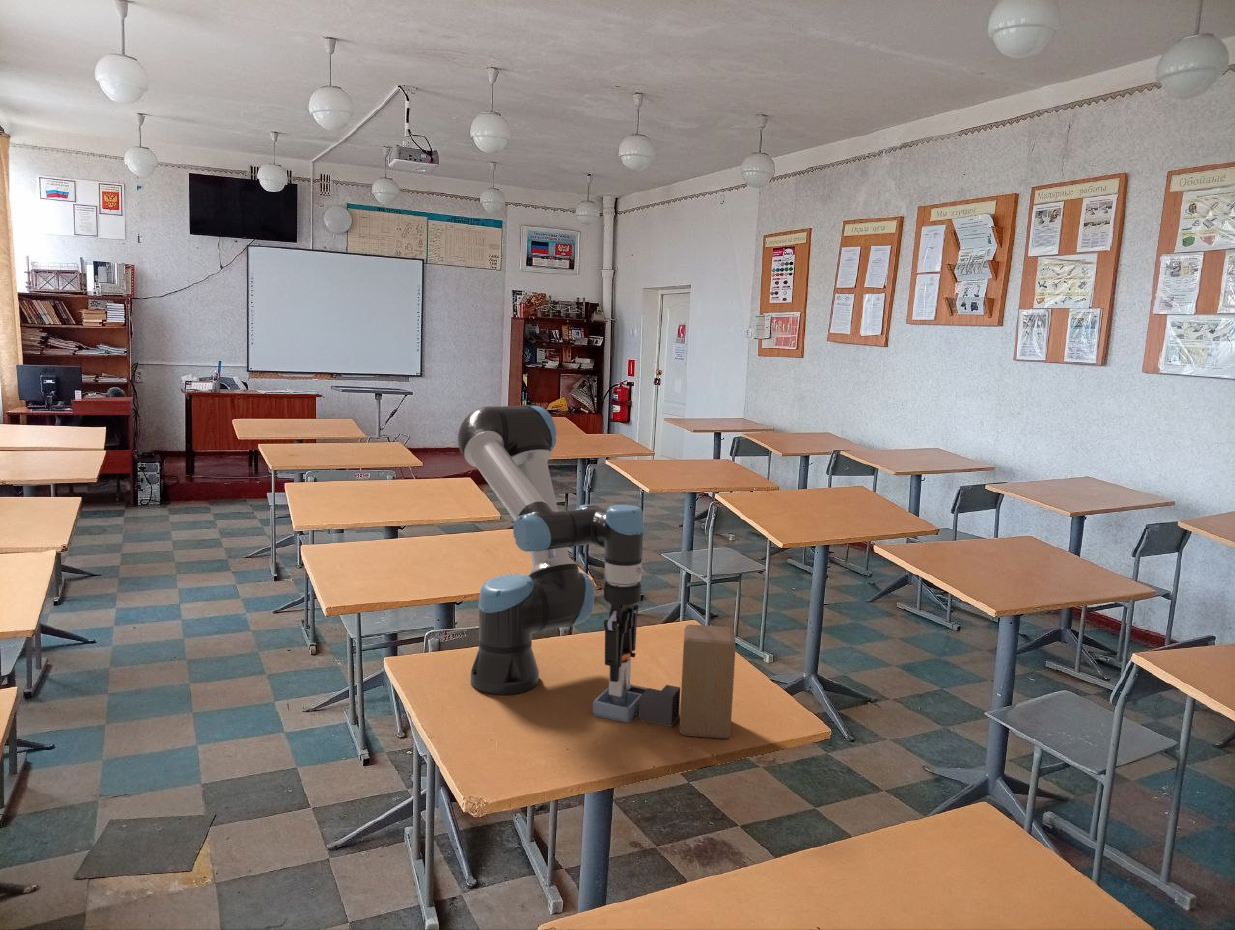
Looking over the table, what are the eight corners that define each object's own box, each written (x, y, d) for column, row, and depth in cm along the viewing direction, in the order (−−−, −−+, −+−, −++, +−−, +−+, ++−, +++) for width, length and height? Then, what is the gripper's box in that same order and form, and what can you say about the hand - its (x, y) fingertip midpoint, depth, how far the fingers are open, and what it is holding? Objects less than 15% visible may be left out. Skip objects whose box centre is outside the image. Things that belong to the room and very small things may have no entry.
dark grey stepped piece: (638, 720, 177) (639, 689, 176) (647, 710, 182) (648, 681, 181) (671, 727, 175) (672, 696, 174) (678, 717, 179) (680, 687, 178)
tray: (592, 715, 178) (592, 701, 178) (607, 700, 186) (607, 687, 185) (628, 722, 176) (629, 708, 175) (642, 707, 183) (643, 694, 182)
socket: (617, 702, 185) (617, 695, 185) (628, 690, 191) (628, 684, 191) (646, 708, 183) (646, 701, 183) (656, 696, 189) (657, 689, 189)
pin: (623, 714, 178) (626, 658, 176) (605, 710, 179) (607, 655, 178) (630, 707, 182) (633, 652, 180) (613, 703, 183) (615, 649, 181)
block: (728, 718, 179) (734, 625, 176) (730, 741, 169) (736, 643, 166) (680, 714, 180) (685, 622, 177) (679, 736, 170) (683, 639, 167)
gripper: (624, 594, 167) (621, 709, 171) (654, 574, 183) (650, 680, 186) (589, 589, 170) (586, 702, 174) (621, 569, 185) (617, 673, 189)
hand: (619, 690), depth 180 cm, fingers closed on pin, 4 cm apart
